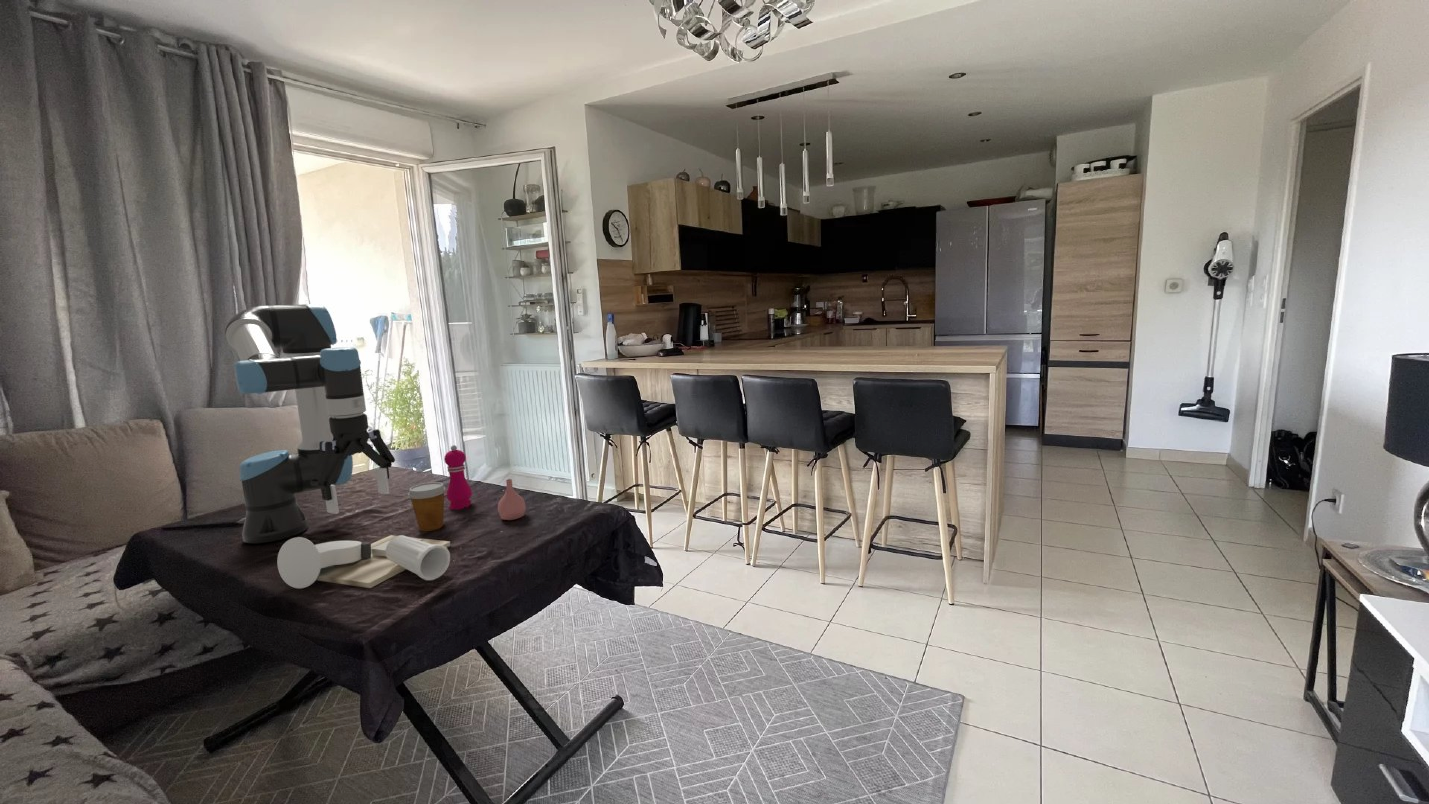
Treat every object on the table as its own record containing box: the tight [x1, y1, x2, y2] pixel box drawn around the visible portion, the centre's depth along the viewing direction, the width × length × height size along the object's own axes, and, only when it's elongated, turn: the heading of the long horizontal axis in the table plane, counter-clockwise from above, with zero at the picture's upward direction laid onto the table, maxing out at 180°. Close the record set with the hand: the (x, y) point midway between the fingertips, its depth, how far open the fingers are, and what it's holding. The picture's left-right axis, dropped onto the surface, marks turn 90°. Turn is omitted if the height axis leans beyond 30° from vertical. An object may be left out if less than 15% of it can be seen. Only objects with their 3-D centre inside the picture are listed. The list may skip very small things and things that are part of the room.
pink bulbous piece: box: [497, 478, 527, 521], centre depth 170 cm, size 8×8×12 cm
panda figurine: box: [276, 536, 372, 589], centre depth 139 cm, size 12×11×15 cm
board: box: [315, 534, 451, 589], centre depth 145 cm, size 20×24×1 cm
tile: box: [372, 537, 423, 556], centre depth 148 cm, size 2×8×8 cm
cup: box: [385, 534, 451, 581], centre depth 137 cm, size 8×8×14 cm
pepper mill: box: [444, 444, 473, 510], centre depth 182 cm, size 7×7×20 cm
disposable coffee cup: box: [407, 481, 446, 532], centre depth 167 cm, size 10×10×12 cm
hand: (359, 502), depth 140 cm, fingers open, 13 cm apart
